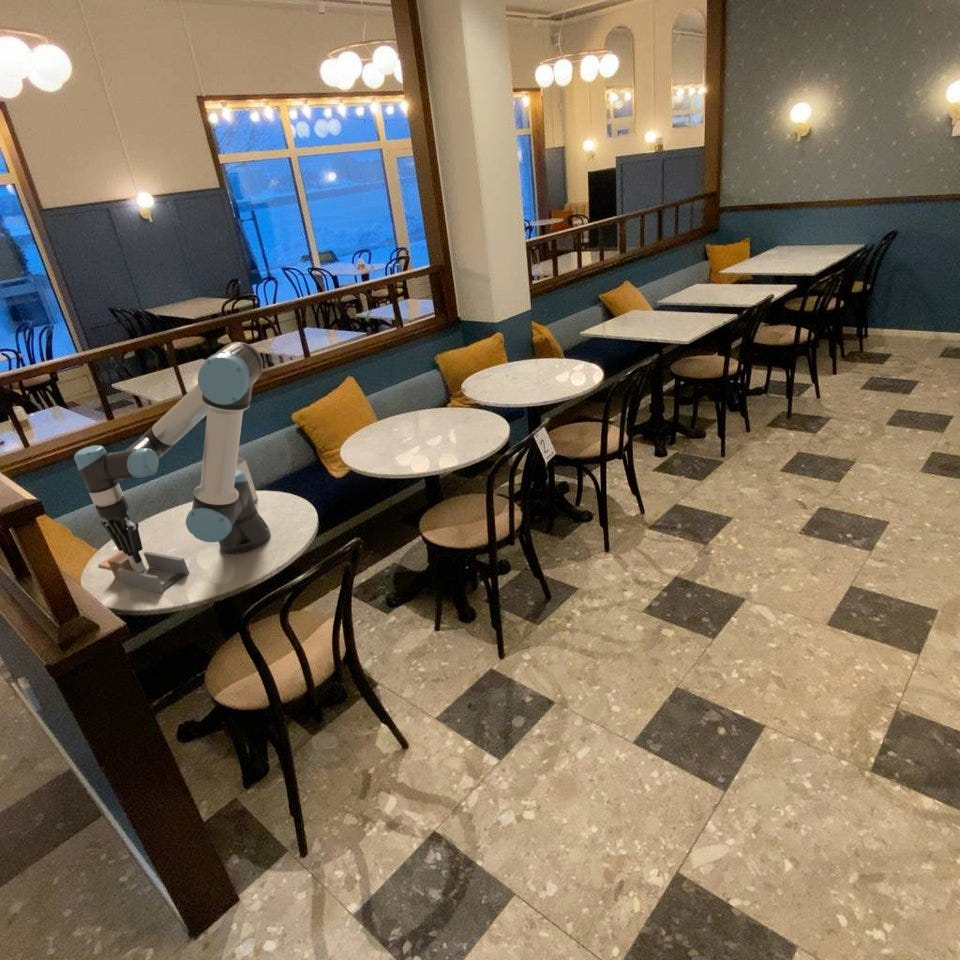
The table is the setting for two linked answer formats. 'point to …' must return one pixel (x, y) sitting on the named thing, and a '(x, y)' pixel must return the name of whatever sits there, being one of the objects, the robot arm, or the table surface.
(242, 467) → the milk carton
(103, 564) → the tile
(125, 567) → the block
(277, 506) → the table surface
